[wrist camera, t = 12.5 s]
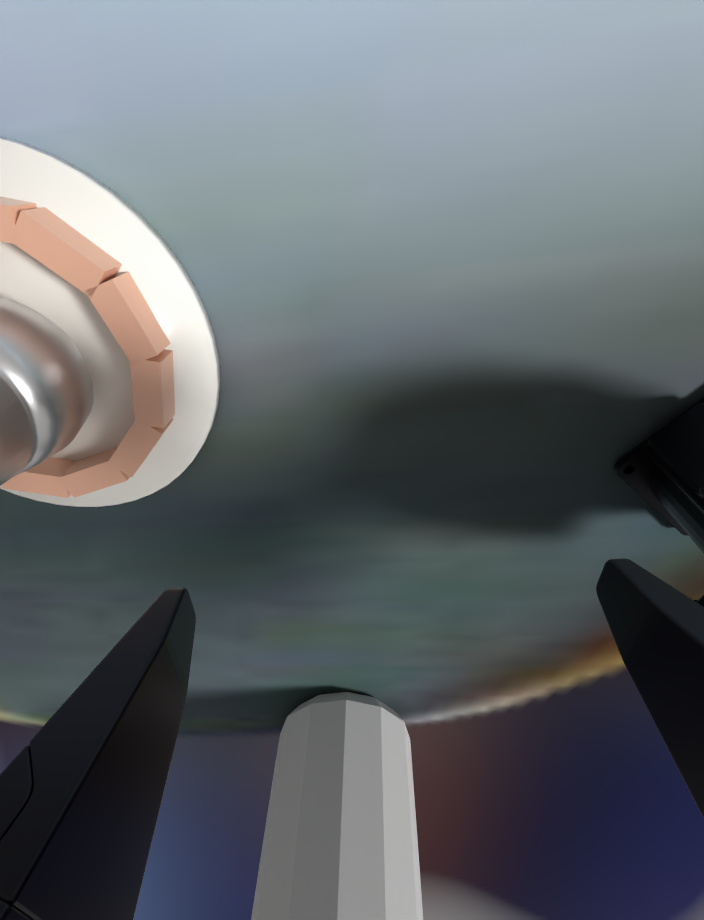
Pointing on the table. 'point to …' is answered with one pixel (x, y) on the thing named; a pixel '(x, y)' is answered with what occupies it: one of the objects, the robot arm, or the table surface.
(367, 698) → the jar
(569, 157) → the table surface
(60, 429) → the plastic bottle
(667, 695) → the robot arm
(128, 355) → the white orange plate
